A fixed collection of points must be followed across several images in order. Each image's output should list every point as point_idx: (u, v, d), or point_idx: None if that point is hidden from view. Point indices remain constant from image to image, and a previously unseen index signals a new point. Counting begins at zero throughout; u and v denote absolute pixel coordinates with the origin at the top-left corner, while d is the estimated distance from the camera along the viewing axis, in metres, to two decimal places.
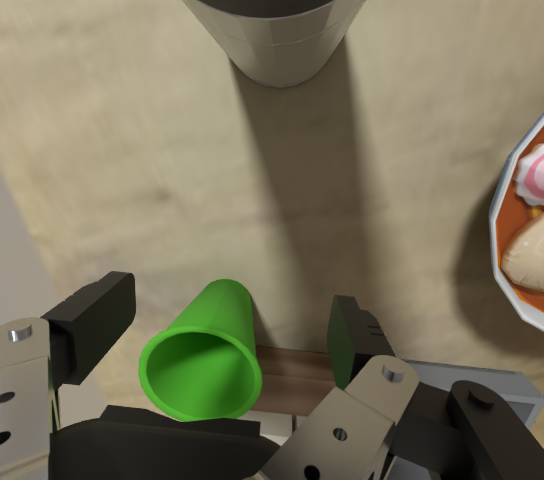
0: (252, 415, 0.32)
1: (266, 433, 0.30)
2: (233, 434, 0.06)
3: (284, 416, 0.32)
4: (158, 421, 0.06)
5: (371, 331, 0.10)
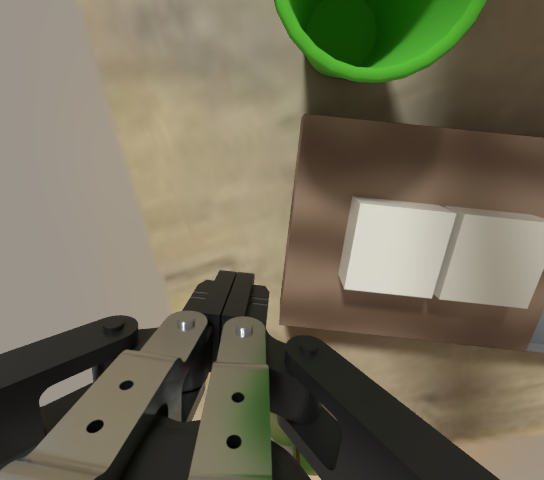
0: (382, 200, 0.21)
1: (416, 208, 0.19)
2: None
3: (428, 204, 0.21)
4: (158, 422, 0.06)
5: (257, 301, 0.11)
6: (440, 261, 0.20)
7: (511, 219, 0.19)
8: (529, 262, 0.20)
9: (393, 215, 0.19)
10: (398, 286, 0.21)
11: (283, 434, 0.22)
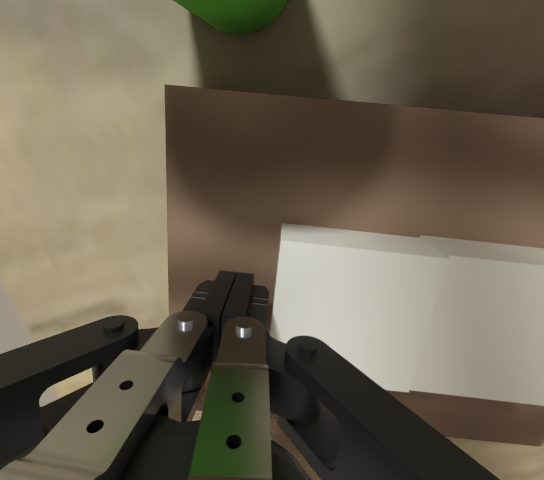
0: (327, 231, 0.13)
1: (378, 249, 0.11)
2: None
3: (404, 237, 0.13)
4: (158, 422, 0.06)
5: (257, 301, 0.11)
6: (420, 336, 0.12)
7: (531, 265, 0.11)
8: None
9: (338, 261, 0.11)
10: None
11: None
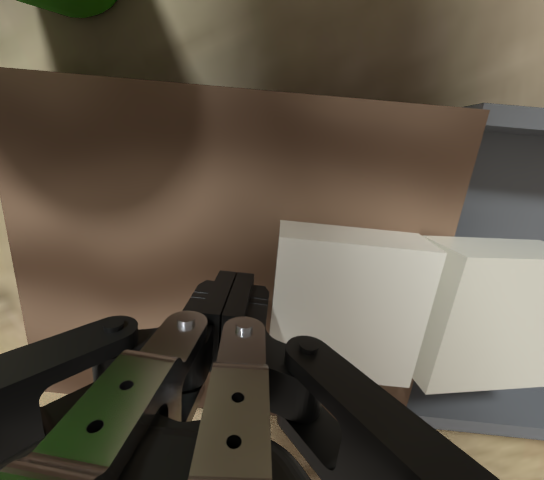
0: (326, 227, 0.13)
1: (376, 245, 0.11)
2: None
3: (402, 233, 0.13)
4: (158, 422, 0.06)
5: (257, 301, 0.11)
6: (420, 331, 0.12)
7: (535, 259, 0.11)
8: None
9: (337, 257, 0.11)
10: None
11: None
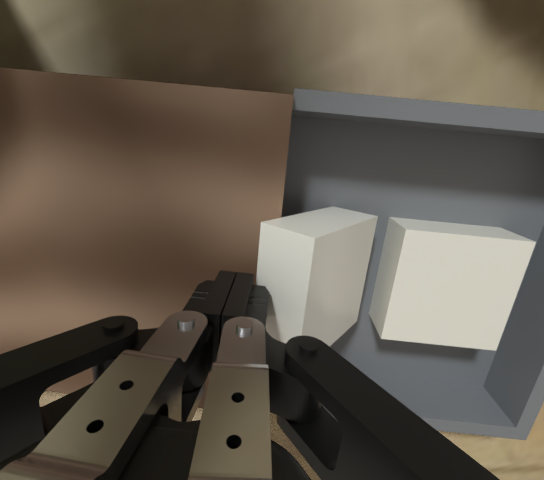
0: (300, 218, 0.13)
1: (354, 222, 0.13)
2: None
3: (330, 208, 0.16)
4: (158, 421, 0.06)
5: (257, 301, 0.11)
6: (364, 277, 0.16)
7: (446, 223, 0.17)
8: None
9: (341, 241, 0.13)
10: (338, 329, 0.15)
11: None
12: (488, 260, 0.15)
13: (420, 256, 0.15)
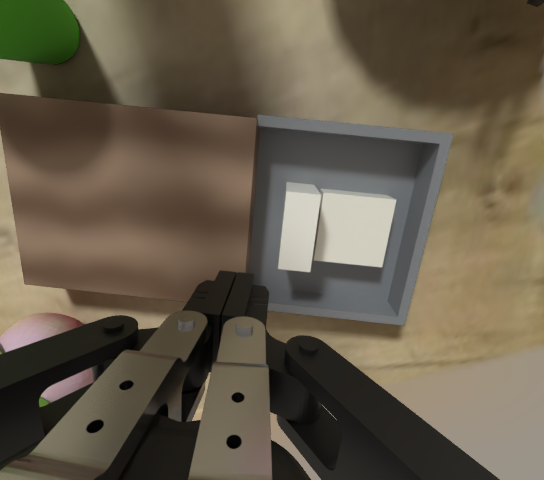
0: (293, 188, 0.24)
1: (315, 188, 0.25)
2: None
3: (289, 183, 0.27)
4: (158, 422, 0.06)
5: (257, 301, 0.11)
6: None
7: (354, 192, 0.28)
8: None
9: None
10: None
11: None
12: (371, 211, 0.26)
13: (332, 208, 0.26)
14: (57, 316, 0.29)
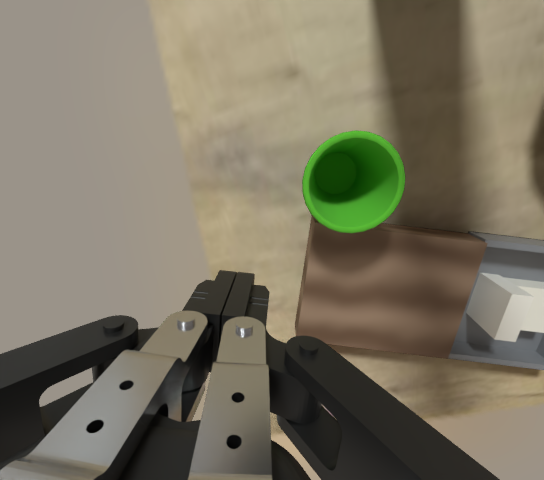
0: (505, 286, 0.36)
1: None
2: None
3: (485, 275, 0.40)
4: (158, 422, 0.06)
5: (257, 301, 0.11)
6: None
7: (526, 280, 0.40)
8: None
9: None
10: None
11: None
12: None
13: None
14: None
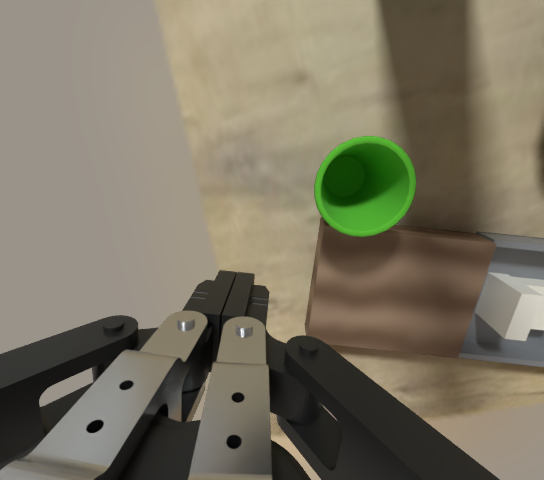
0: (514, 286, 0.37)
1: (520, 282, 0.38)
2: None
3: (494, 274, 0.40)
4: (158, 422, 0.06)
5: (257, 301, 0.11)
6: None
7: (535, 279, 0.41)
8: None
9: None
10: None
11: None
12: None
13: None
14: None
